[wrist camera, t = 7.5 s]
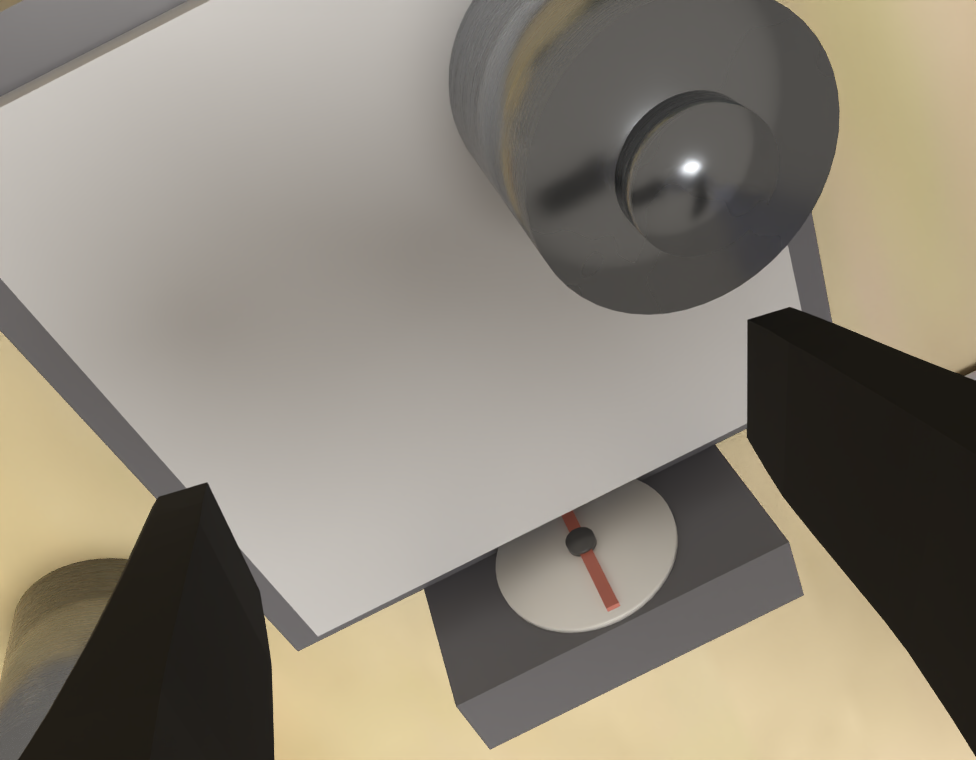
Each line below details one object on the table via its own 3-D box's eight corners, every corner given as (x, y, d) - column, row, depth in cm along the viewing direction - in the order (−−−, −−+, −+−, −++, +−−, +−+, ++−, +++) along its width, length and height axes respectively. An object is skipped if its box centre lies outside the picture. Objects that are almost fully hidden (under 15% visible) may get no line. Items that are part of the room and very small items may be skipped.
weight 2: (694, 169, 17) (847, 293, 13) (468, 221, 16) (554, 369, 12) (696, -92, 14) (886, -36, 10) (427, -40, 14) (521, 39, 10)
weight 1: (227, 629, 25) (233, 793, 21) (86, 699, 25) (65, 876, 21) (131, 531, 22) (116, 698, 18) (-26, 610, 22) (-76, 794, 18)
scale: (801, 383, 25) (942, 526, 21) (324, 620, 26) (353, 816, 21) (639, -335, 15) (842, -382, 10) (-149, 69, 15) (-304, 206, 11)
